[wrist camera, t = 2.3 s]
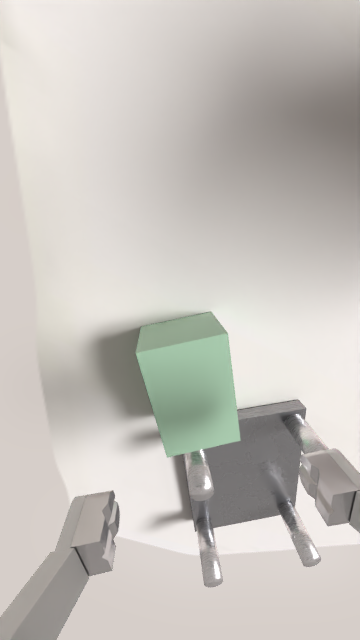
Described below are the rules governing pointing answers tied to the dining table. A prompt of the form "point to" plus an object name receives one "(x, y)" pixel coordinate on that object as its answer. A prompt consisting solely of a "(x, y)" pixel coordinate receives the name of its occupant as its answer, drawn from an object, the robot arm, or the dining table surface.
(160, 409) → the green rectangular block
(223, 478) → the chassis
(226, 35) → the dining table surface
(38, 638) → the robot arm
